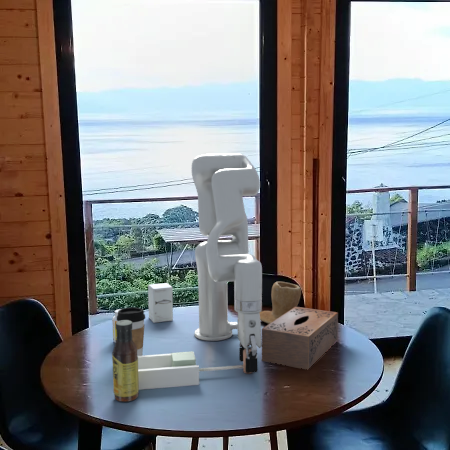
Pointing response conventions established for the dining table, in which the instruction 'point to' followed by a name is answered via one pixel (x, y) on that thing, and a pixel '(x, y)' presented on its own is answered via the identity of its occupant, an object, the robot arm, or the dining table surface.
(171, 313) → the supplement box
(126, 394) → the sauce bottle
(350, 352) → the dining table surface
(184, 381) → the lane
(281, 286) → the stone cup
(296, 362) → the tissue box cover
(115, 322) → the supplement bottle
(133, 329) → the coffee cup
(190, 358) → the sliding handle
